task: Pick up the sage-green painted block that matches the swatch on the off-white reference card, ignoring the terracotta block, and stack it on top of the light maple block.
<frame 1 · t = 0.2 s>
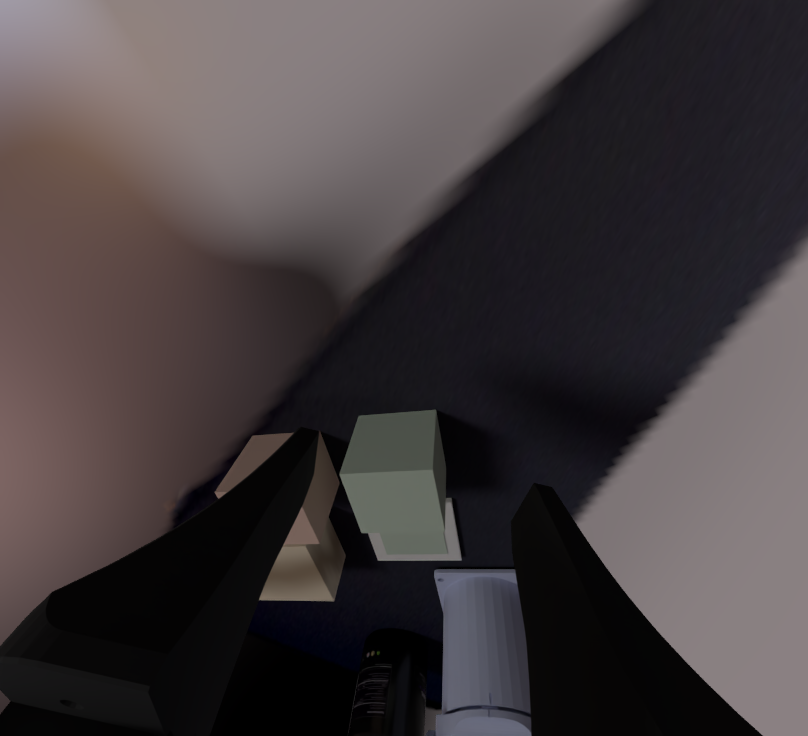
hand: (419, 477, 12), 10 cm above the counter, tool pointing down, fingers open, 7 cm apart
maple block: (296, 528, 31), on the counter
terracotta block: (297, 459, 27), on the counter
sage block: (404, 441, 25), on the counter
supplement bottle: (396, 640, 40), on the counter
reference card: (412, 529, 29), on the counter
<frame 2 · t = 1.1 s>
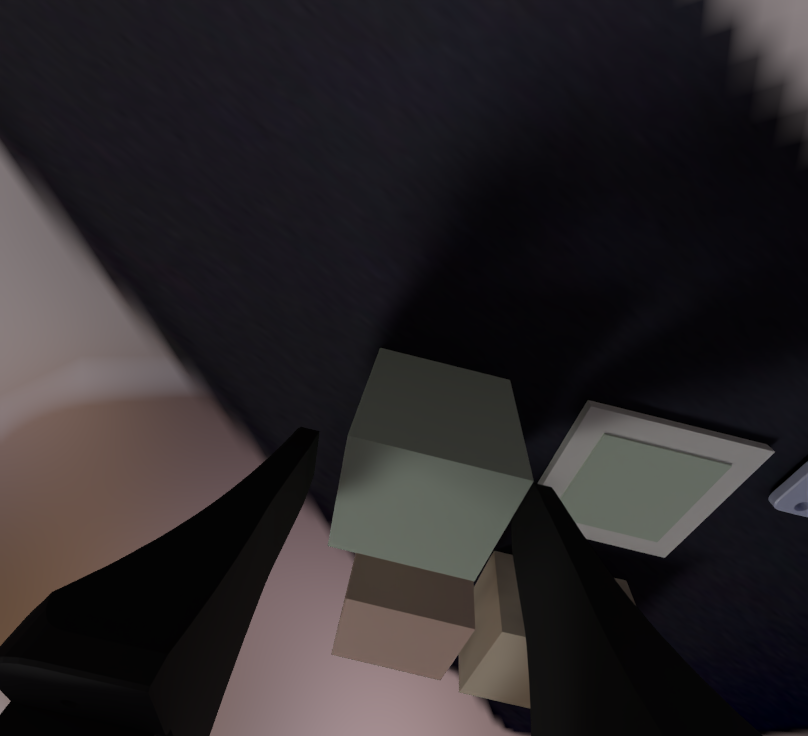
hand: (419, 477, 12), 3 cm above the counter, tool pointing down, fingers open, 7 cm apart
maple block: (534, 595, 21), on the counter
terracotta block: (409, 534, 19), on the counter
sage block: (428, 413, 15), on the counter
reference card: (628, 483, 16), on the counter
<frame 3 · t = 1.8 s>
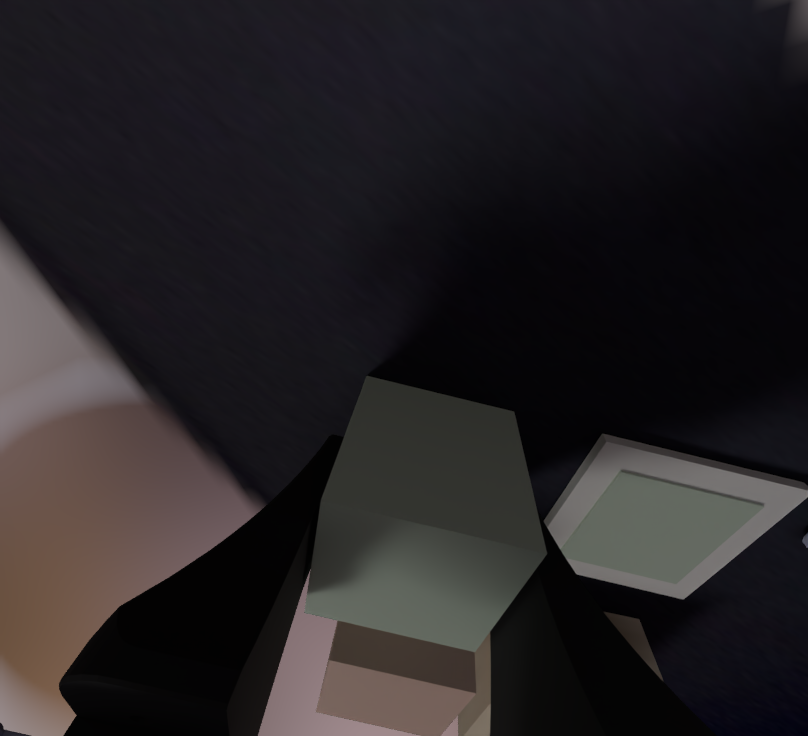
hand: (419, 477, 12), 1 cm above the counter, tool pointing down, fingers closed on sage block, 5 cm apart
maple block: (538, 632, 20), on the counter
terracotta block: (403, 570, 18), on the counter
sage block: (422, 447, 14), on the counter, touching gripper
reference card: (645, 522, 14), on the counter
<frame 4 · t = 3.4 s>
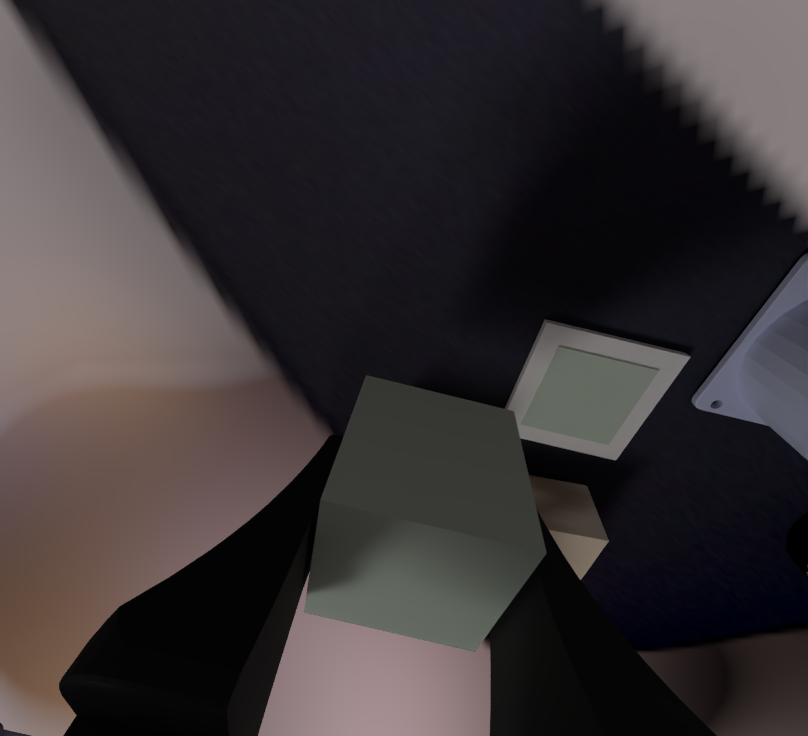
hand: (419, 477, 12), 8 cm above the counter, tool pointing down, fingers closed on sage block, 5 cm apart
maple block: (513, 508, 25), on the counter
sage block: (422, 447, 14), point 7 cm above the counter, touching gripper
reference card: (582, 393, 20), on the counter
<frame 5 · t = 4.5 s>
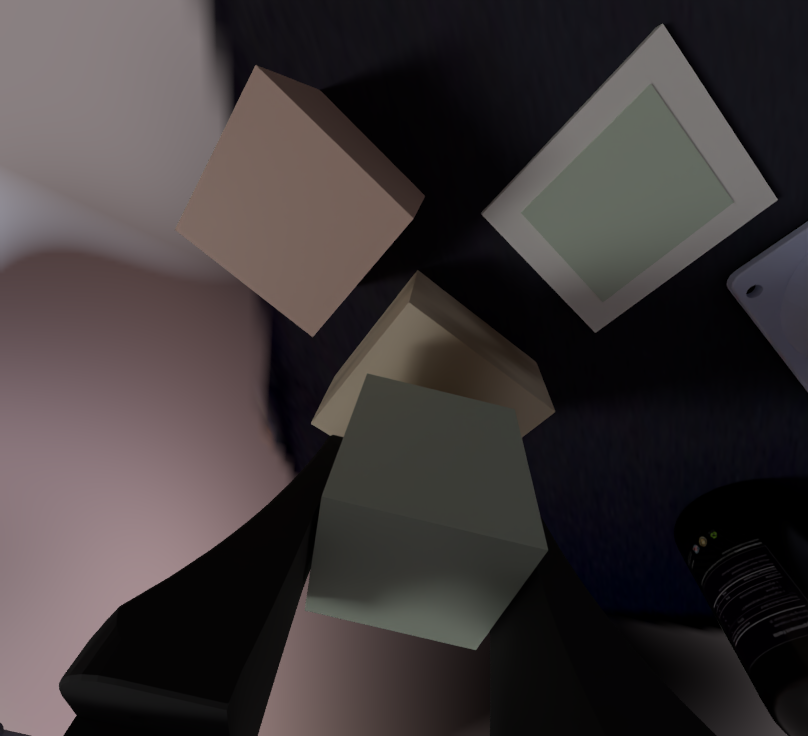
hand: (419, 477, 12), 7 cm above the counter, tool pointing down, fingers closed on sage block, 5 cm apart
maple block: (431, 367, 18), on the counter
terracotta block: (336, 200, 15), on the counter
sage block: (423, 445, 14), point 5 cm above the counter, touching gripper
supplement bottle: (733, 517, 21), on the counter
reference card: (618, 205, 14), on the counter
when the fingers open (7 cm above the counter, at t = 5.0 s): sage block drops 2 cm, resting on maple block.
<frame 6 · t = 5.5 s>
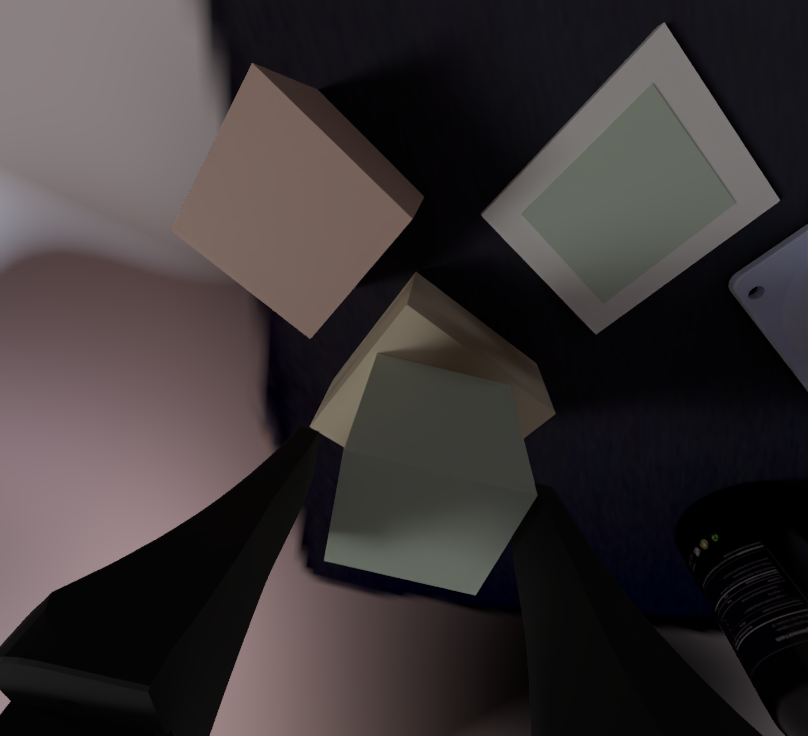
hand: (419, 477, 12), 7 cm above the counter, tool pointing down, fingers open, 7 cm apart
maple block: (430, 368, 18), on the counter, touching sage block
terracotta block: (334, 201, 15), on the counter
sage block: (427, 420, 15), point 4 cm above the counter, touching maple block
supplement bottle: (734, 519, 21), on the counter
reference card: (619, 206, 14), on the counter
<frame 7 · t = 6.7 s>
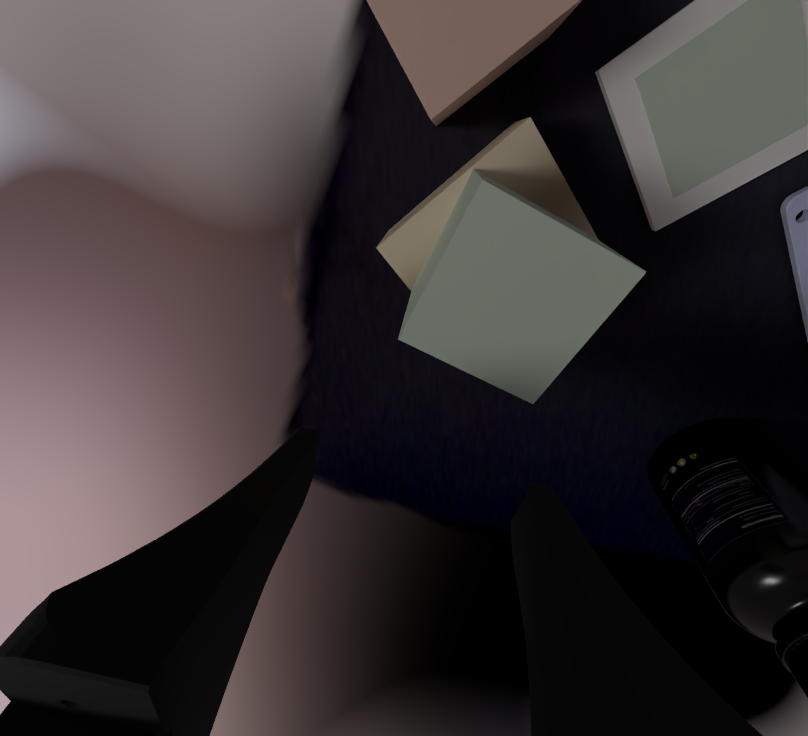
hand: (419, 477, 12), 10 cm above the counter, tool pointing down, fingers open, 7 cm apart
maple block: (488, 241, 18), on the counter, touching sage block
terracotta block: (457, 17, 14), on the counter
sage block: (495, 262, 15), point 4 cm above the counter, touching maple block
supplement bottle: (701, 456, 24), on the counter
reference card: (718, 99, 15), on the counter
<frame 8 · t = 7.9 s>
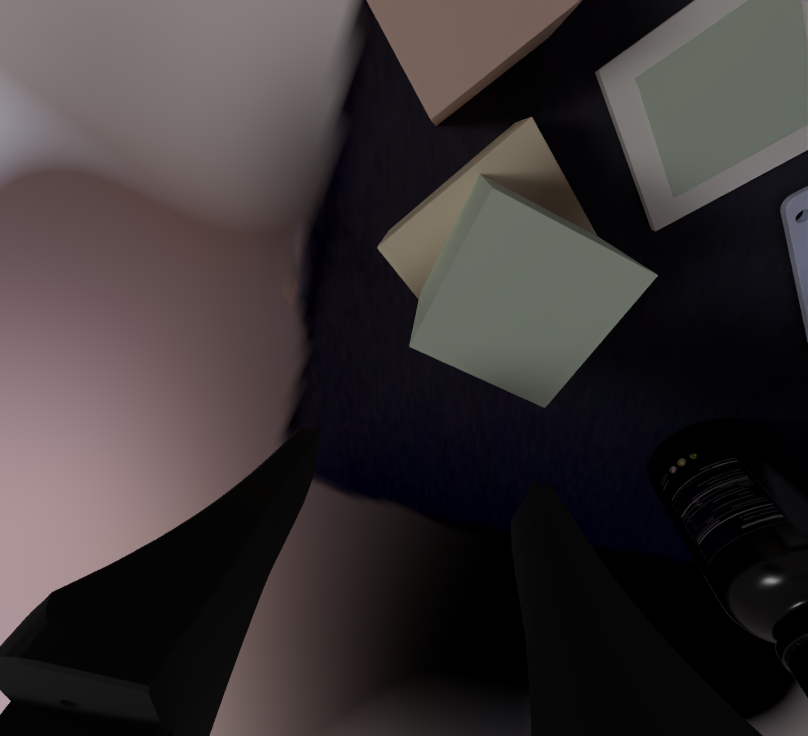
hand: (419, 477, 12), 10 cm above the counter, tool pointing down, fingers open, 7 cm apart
maple block: (488, 241, 18), on the counter, touching sage block
terracotta block: (457, 17, 14), on the counter
sage block: (502, 265, 15), point 4 cm above the counter, touching maple block
supplement bottle: (701, 456, 24), on the counter
reference card: (718, 99, 15), on the counter
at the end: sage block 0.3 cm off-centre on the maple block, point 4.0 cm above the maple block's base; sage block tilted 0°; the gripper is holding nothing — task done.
